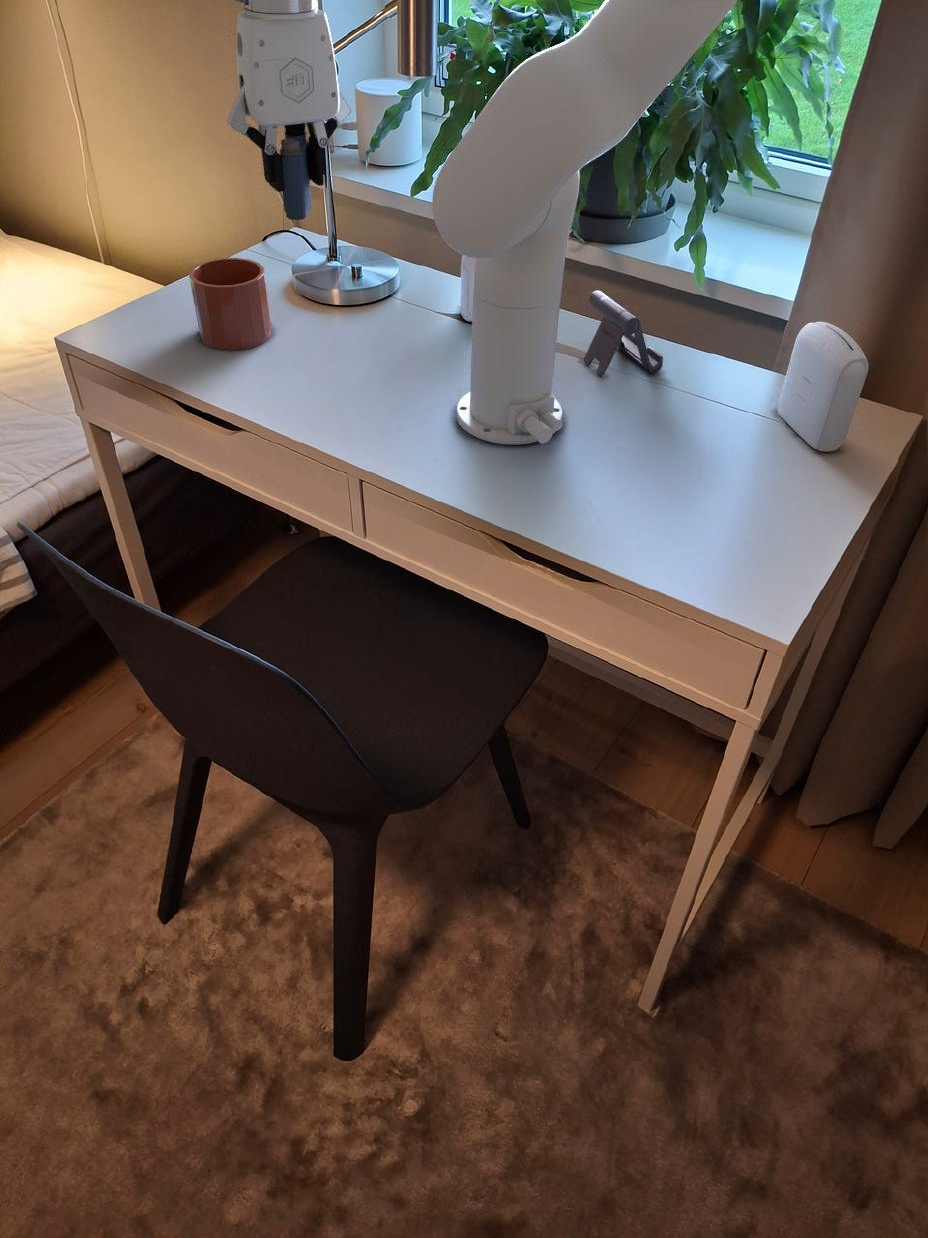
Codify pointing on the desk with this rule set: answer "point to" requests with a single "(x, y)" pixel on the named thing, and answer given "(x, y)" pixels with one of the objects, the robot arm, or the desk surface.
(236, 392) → the desk surface
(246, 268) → the pen cup
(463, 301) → the eye dropper bottle
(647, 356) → the tablet stand
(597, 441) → the desk surface
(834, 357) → the photo printer
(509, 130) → the robot arm
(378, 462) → the desk surface
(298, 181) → the vaping device
